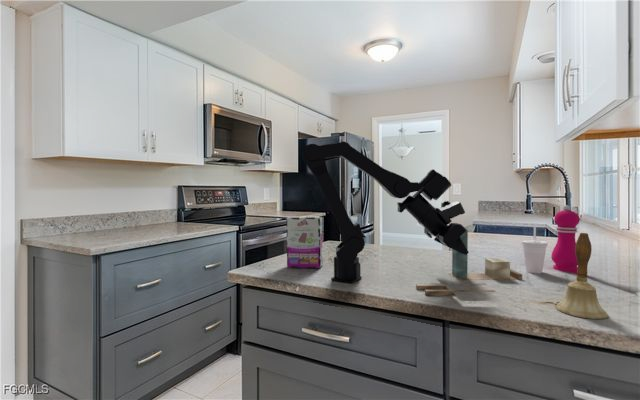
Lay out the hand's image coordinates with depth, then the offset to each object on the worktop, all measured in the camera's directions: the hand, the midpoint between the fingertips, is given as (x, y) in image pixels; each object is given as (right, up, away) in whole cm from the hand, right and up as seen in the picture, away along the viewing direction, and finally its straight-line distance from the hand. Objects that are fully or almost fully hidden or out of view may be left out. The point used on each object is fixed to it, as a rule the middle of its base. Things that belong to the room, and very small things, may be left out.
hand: (464, 252), depth 91 cm
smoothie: (+22, -7, +5) cm, 24 cm away
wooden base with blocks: (+5, -8, 0) cm, 9 cm away
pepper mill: (+33, -7, +7) cm, 35 cm away
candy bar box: (-45, -8, +18) cm, 49 cm away
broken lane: (-7, -8, -10) cm, 14 cm away
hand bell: (+13, -8, -24) cm, 28 cm away
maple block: (+9, -6, 0) cm, 11 cm away
